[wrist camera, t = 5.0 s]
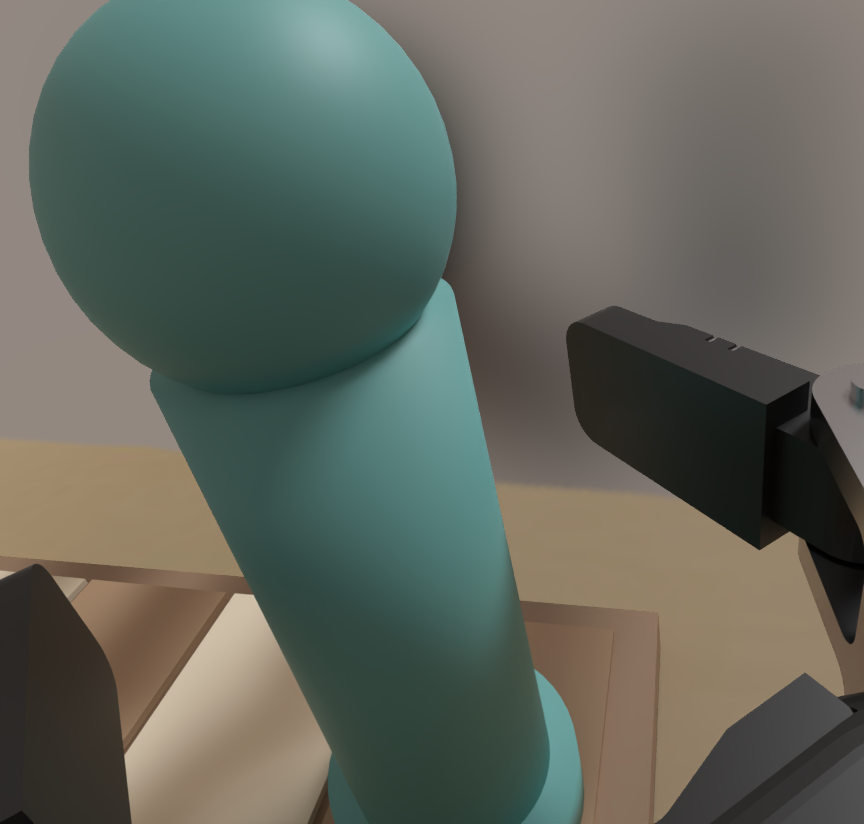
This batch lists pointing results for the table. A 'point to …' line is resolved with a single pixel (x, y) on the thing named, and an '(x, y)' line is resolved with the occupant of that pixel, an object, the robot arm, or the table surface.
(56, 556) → the table surface
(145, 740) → the board
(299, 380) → the pawn
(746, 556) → the table surface
